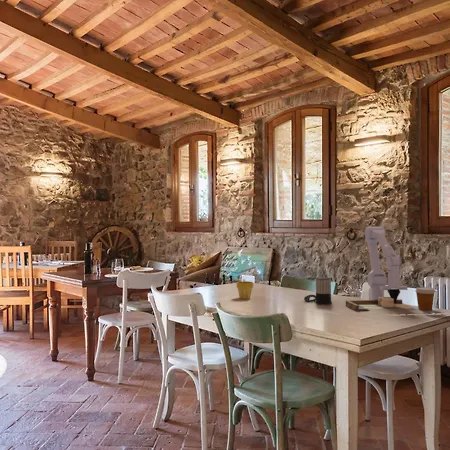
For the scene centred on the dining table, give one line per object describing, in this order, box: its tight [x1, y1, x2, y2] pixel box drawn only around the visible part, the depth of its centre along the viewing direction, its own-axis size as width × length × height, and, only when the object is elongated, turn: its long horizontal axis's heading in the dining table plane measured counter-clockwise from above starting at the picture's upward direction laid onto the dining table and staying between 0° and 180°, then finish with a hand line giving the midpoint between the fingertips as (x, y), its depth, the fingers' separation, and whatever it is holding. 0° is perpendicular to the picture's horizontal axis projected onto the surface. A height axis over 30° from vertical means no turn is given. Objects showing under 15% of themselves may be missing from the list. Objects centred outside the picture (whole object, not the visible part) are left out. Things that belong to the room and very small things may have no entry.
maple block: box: [378, 296, 394, 307], centre depth 244 cm, size 6×6×4 cm
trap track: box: [345, 298, 415, 312], centre depth 244 cm, size 16×32×3 cm, turn 95°
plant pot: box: [236, 280, 254, 300], centre depth 281 cm, size 10×10×10 cm
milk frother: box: [304, 276, 332, 306], centre depth 262 cm, size 14×16×15 cm
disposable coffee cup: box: [414, 286, 436, 312], centre depth 233 cm, size 10×10×12 cm
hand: (393, 303), depth 244 cm, fingers closed
